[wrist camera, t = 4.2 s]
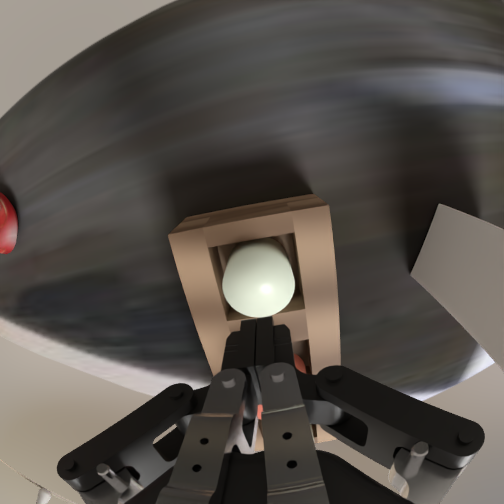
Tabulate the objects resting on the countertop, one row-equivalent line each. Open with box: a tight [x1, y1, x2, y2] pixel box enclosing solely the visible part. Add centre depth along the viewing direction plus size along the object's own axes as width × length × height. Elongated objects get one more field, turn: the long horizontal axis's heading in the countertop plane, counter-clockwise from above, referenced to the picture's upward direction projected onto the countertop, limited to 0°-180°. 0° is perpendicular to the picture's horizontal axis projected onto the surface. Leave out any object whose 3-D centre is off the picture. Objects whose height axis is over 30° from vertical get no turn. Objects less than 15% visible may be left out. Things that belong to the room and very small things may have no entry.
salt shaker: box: [36, 488, 51, 504], centre depth 53 cm, size 6×6×13 cm
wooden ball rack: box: [168, 194, 340, 451], centre depth 23 cm, size 24×10×5 cm, turn 11°
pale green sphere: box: [222, 237, 295, 317], centre depth 19 cm, size 4×4×4 cm
